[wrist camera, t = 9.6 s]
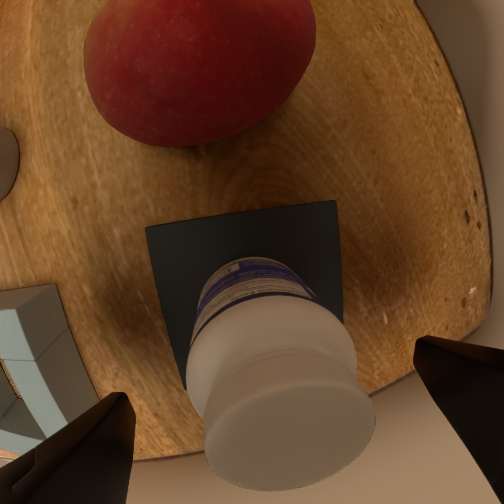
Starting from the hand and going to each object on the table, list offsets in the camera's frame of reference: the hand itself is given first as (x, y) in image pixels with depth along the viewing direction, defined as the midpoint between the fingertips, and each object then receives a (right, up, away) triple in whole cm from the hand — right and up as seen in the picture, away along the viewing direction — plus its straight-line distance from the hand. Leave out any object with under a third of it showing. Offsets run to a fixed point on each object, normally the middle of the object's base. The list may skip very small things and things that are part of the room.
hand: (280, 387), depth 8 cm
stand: (-16, -4, +6) cm, 18 cm away
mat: (-1, +1, +7) cm, 7 cm away
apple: (-3, +12, +5) cm, 13 cm away
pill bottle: (-1, +1, +7) cm, 7 cm away
